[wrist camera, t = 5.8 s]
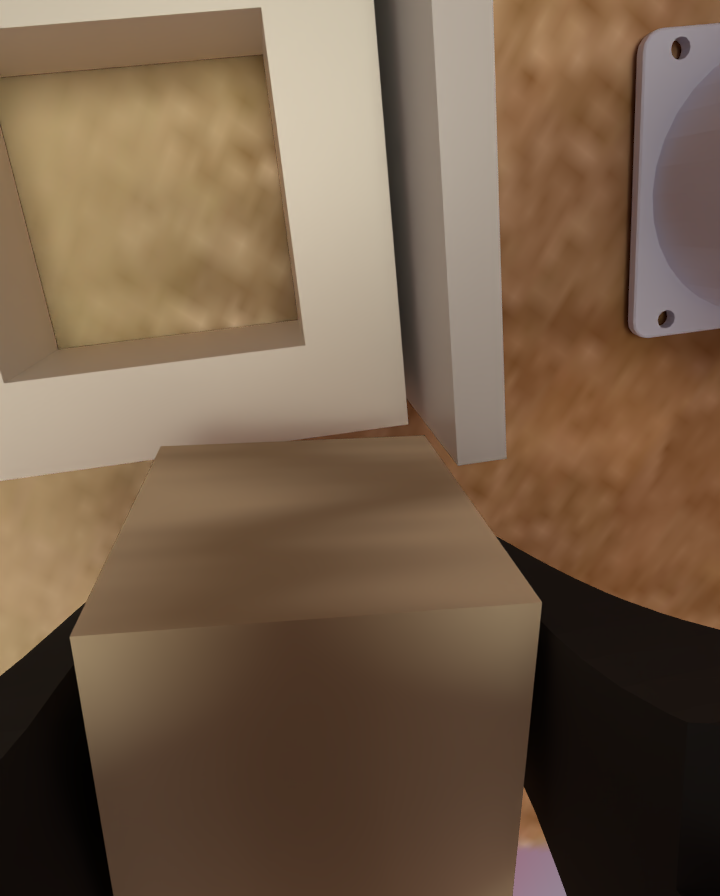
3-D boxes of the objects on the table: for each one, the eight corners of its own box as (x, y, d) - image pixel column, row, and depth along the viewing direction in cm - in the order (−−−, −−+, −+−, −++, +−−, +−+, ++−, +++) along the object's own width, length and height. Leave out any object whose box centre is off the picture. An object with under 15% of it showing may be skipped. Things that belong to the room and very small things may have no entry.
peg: (424, 435, 13) (542, 602, 7) (417, 652, 15) (509, 924, 9) (160, 445, 12) (69, 637, 7) (184, 671, 14) (126, 974, 8)
